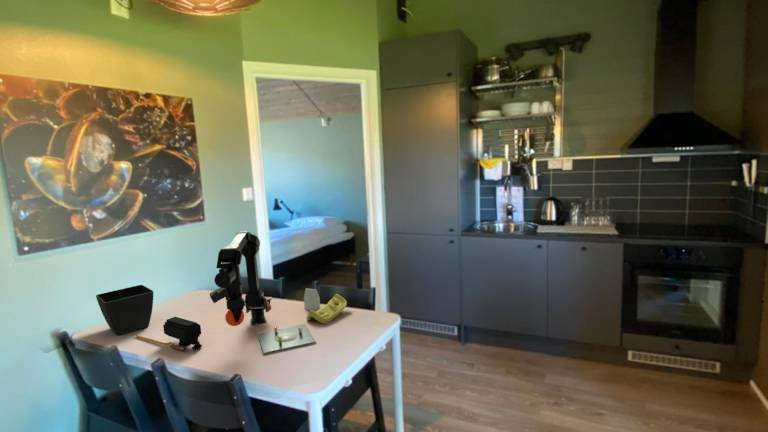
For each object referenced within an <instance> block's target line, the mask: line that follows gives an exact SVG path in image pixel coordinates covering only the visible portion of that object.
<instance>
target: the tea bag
mask: <svg viewBox="0 0 768 432" xmlns="http://www.w3.org/2000/svg"><path fill="white" fill-rule="evenodd" d="M303 303H304V310H307V311H311V310H313V311H315V312H316V311H318V310H319V309H321V298H320V294H319V292H318V290H317V289H314V288H305V290H304V295H303Z"/></svg>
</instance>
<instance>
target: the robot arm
mask: <svg viewBox="0 0 768 432" xmlns="http://www.w3.org/2000/svg"><path fill="white" fill-rule="evenodd" d="M260 245H261V240H260V238H259V237H258V236H257V235H255V234H252V233H251V232H250V231H238V232H236V235H235V237H234V238H233V239H232V241H231V242H230V244H228V245H225V246H223V247H222V248H220V249H219V252H218V255H217V261H216V269H218V272H217V274H215V276H214V284H215V285H216V287H219V288H216V289H215V290H213V291H211V292H210V293H209V297H210V299H211V301H212V303H213V304H216V303H218V302H219V301H220V300H222V299H225V301H226V302H225V303H226V309H227V310H228V311H229V310H231V311H232V313H233V316H234V319H235V322H239V319H240V316H241V313H242V311H243V310H244V309H245V311H246V310H247V311H248V310H250V317H251V319H250V324H251V326H253V325H257V324H264V323H267V319H266V317H265V311H266V308H268V301H267V300H266V298H265V297H266V296H265V293H264V290H263V289H262V288H261V287H260V280H259V270H258V263H257V261H258V260H257V255H258V253H259V250H260ZM242 257H244V259H245V266H246V267H245V268H246V277H247V278H246V279H247V286H248V287H247V288H248V290H247V292H246V294H245V296H244V298H243V289H242V281H241V272H240V265H241V263H242V259H243V258H242ZM243 308H244V309H243ZM243 312H244V311H243Z"/></svg>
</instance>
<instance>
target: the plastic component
mask: <svg viewBox="0 0 768 432" xmlns="http://www.w3.org/2000/svg"><path fill="white" fill-rule="evenodd" d="M347 305H348V302H347V300H346V299H345V298H344V297H343V296H341V294H340V295H339V294H338V293H337V294H336V293H335V294H334V295H333V297H332V298H330V300H329V301H328V302H327V303H326V304H325V305H323V306H322V307H320V309H318V310H317V311H313V310H309V311H308V314H307V317H306V320H307V321H310V320H312V319H315V320H316V321H317V322H319V323H321V324H325V323H326V324H328V323H329V322H331V321H332V320H334V319H335V318H336V317H339V315H340V313H341V312H342V311H343V310H344V309H345V308H346V306H347ZM326 324H325V325H326Z"/></svg>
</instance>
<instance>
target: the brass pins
mask: <svg viewBox="0 0 768 432" xmlns="http://www.w3.org/2000/svg"><path fill="white" fill-rule="evenodd" d="M298 328H299V335H302V328H301V327H298ZM277 329H278V326H275V327H274V328H273V330H275V335H277V334H278V330H277ZM278 340H279V344H282V338H281V336H278Z"/></svg>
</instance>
